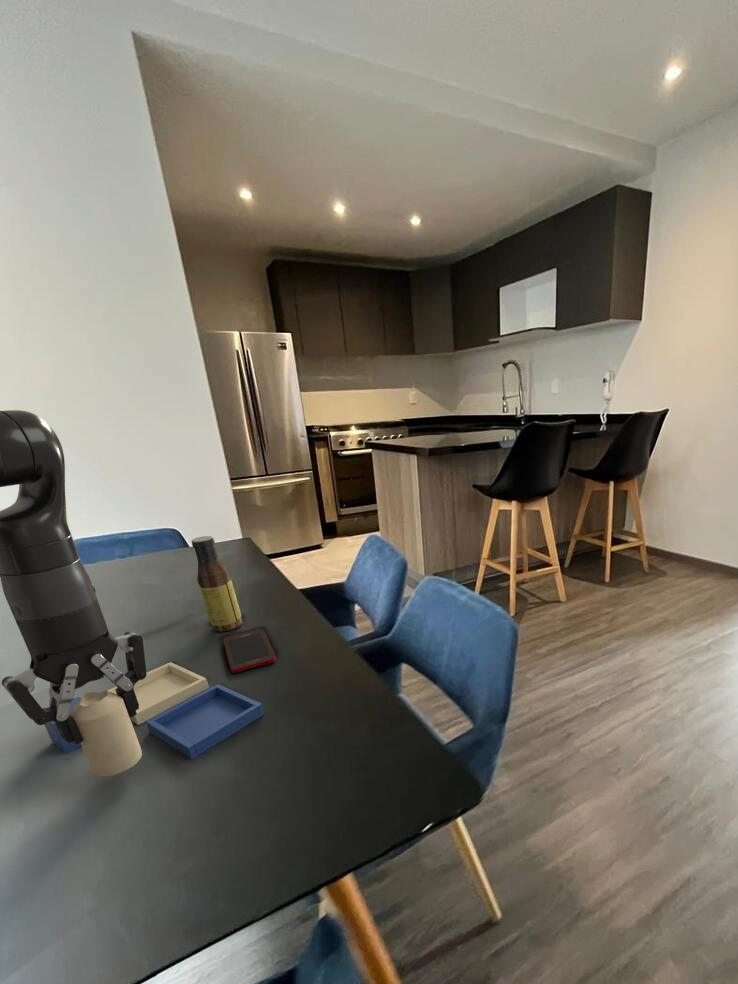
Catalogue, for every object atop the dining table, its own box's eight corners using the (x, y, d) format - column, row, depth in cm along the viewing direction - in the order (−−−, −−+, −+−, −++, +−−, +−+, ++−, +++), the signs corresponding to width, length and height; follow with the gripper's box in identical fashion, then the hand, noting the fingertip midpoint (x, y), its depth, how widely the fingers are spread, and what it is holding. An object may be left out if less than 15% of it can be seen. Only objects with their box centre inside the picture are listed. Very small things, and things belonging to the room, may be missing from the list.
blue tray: (191, 759, 66) (188, 748, 65) (149, 732, 72) (145, 721, 72) (264, 714, 75) (261, 703, 74) (220, 693, 81) (218, 683, 80)
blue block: (66, 753, 69) (52, 724, 67) (52, 742, 72) (39, 713, 70) (104, 734, 73) (93, 705, 71) (90, 723, 75) (78, 696, 74)
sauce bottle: (229, 618, 110) (207, 532, 102) (249, 622, 107) (228, 534, 99) (204, 631, 104) (179, 541, 97) (225, 635, 102) (200, 543, 94)
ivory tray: (138, 725, 74) (134, 714, 74) (104, 703, 81) (100, 693, 80) (209, 688, 83) (206, 678, 82) (173, 671, 89) (170, 661, 88)
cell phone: (232, 675, 86) (230, 670, 86) (223, 642, 98) (222, 638, 98) (277, 662, 89) (276, 657, 89) (263, 632, 102) (262, 628, 101)
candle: (85, 767, 63) (57, 701, 59) (130, 742, 67) (107, 679, 63) (104, 783, 60) (75, 715, 56) (150, 757, 64) (127, 692, 60)
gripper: (110, 577, 62) (148, 691, 69) (-39, 620, 51) (23, 750, 58) (139, 587, 58) (176, 707, 65) (-17, 636, 47) (48, 774, 54)
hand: (104, 727), depth 61 cm, fingers closed on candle, 5 cm apart
